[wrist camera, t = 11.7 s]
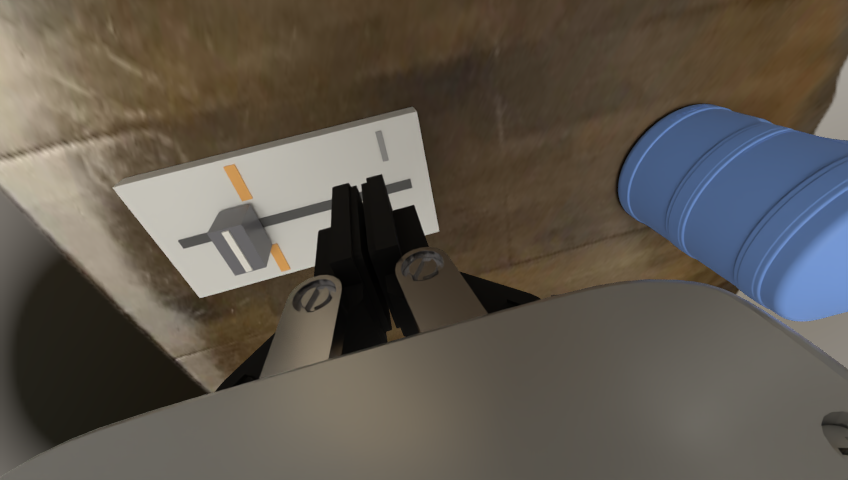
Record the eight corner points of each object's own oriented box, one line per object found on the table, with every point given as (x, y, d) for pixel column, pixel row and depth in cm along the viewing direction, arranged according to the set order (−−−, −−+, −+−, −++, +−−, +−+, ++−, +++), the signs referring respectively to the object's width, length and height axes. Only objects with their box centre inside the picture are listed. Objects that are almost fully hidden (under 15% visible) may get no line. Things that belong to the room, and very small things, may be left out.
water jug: (613, 232, 50) (848, 418, 27) (615, 131, 41) (971, 283, 18) (713, 192, 50) (1032, 344, 27) (737, 81, 41) (1250, 171, 18)
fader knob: (250, 203, 33) (240, 225, 30) (272, 244, 36) (266, 268, 33) (219, 211, 33) (206, 234, 30) (244, 252, 36) (234, 277, 33)
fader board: (412, 106, 34) (417, 111, 32) (435, 222, 42) (439, 232, 41) (123, 178, 32) (111, 188, 30) (205, 286, 40) (199, 299, 38)
